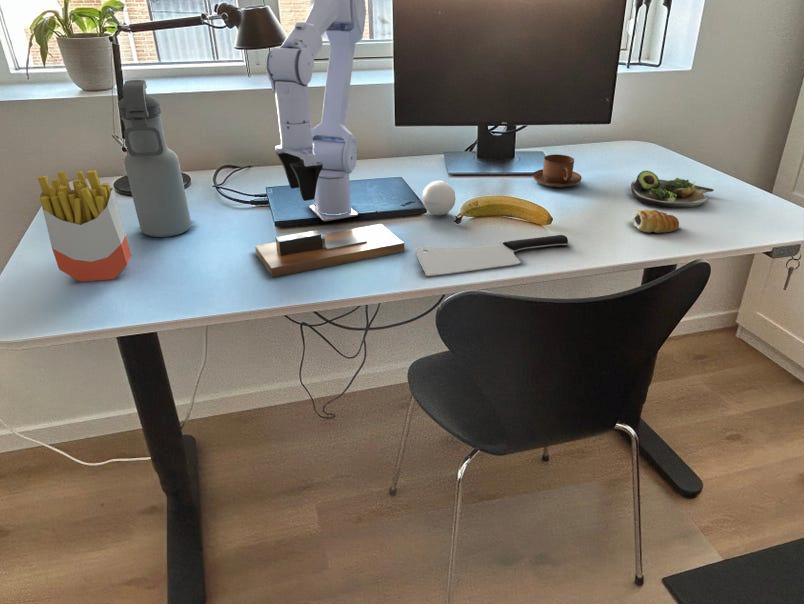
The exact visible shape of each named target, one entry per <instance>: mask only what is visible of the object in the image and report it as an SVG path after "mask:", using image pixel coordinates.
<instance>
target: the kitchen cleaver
mask: <svg viewBox="0 0 804 604" xmlns="http://www.w3.org/2000/svg"><path fill="white" fill-rule="evenodd" d="M568 244H569V238H568V237H567V236H566V235H564V234H556V235H549V236H540V237H532V238H524V239H523V238H522V239H515V240H509V241H504V242H502V243H495V244H485V245H475V246H455V247H453V246H452V247H434V246H433V247H432V246H420V247H419V246H418V247H416V248H415V254H416V257H417V259H418V263H419V264H420V266H421V267H422V270H423V272H424V275H425V276H426V277H435V276H445V275H452V274H458V273H467V272H474V271H482V270H489V269H496V268H497V269H498V268H504V267H511V266H516V265H520V264H521V260H520V259H519V258H518V257H517V256H516V255H515V253H517V252H522V251H531V250H537V249H544V248H545V249H546V248H553V247H567V246H568Z"/></svg>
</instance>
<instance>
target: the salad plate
mask: <svg viewBox="0 0 804 604" xmlns="http://www.w3.org/2000/svg"><path fill="white" fill-rule="evenodd" d="M695 183H696V181H694V180H693V182H692V183H691V182H690V180H689V179H684V178H683V179H682V178H679V177H676V178H675V179H670V180H666V179H659V177H658V175H657V174H656V173H655V172H653V171H651V170H642V171H641V172H639V174H638V175H637V176H636V179H635V180H632V182H631V183H630V188H631V193H632V196H633V198H634V199H635V201H637V202H639V203H641V204H643V205H646V206H650V207H656V208H690V207H691V208H695V207H698V206H700V205H702V204H704V203H706V202H707V201H708V197H707V196H706V195H705V194H706V193H711V192H712V193H713V192H714V191H715V190H714V188H710V187H706V186H701V185H696V184H695Z"/></svg>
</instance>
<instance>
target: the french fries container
mask: <svg viewBox="0 0 804 604" xmlns="http://www.w3.org/2000/svg"><path fill="white" fill-rule="evenodd" d="M75 174H76V176H77V179H74V180H72V186H73V189H72V188H71V185H70V182H69V180H68V177H67V174H66V171H59V172H57V178H52V179H51V184H52V185H51V184H50V181H49V178H48V175H47V174H46V175H39V176H38V177H37V181H38V183H39V186H40V188H41V191H42V192H41V193H40V194H39V201H40V204H41V207H42V208H41V209H42V212H43V216H44V220H45V223H46V228H47V233H48V237H49V241H50V246H51V249H52V252H53V255H54V259H55V262H56V264H57V267H58V270H59V271H61V272H62V273H64V274H66V275H68V276H69V277H71V278H73V279H75V280H77V281H79V282H94V281H106V280H107V281H109V280H115V279H116V278H117V277H118V275H119V274H120V273H121V272H122V271H123V270H124V269H125V268H126V267H127V266H128V264H129V262H130V259H131V258H132V253H131V250H130V246H129V242H128V237H127V234H126V230H125V226H124V222H123V219H122V214H121V212H120V207H119V204H118V200H117V197H116V192H115V188H114V187H110V183H109V182H103V183H101V180H100V177H99V174H98V171H97V169H91V170H87V171H86V172H85V175H86V178H87V180H86V178H85V175H84V172H83V171H82V170H81V171H80V170H79V171H77V172H76V173H75ZM87 181H88V182H87ZM88 183H89V185H88ZM89 186H90V187H89Z"/></svg>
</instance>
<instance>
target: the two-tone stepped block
mask: <svg viewBox="0 0 804 604" xmlns="http://www.w3.org/2000/svg"><path fill="white" fill-rule="evenodd" d="M321 234H322V233H320V232H319V231H318V230H317V229H316V230H310V231H305V232H299V233H293V234H286V235H281V236H276V237H275V242H276V247H277V252H278V253H279V254H280V256H284V255H289V254H294V253H300V252H305V251H311V250H316V249H322V248H323V249H324V248H326V249H327V250H330V249H336V248H341V247H346V246H352V245H357V244H362V243H367V241H366V240H365V239H364V238H363V237H362V236H361V235H357V236H352V237H346V238H340V239H335V240H329V241H325V238H324V237H323V236H322V235H321Z"/></svg>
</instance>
